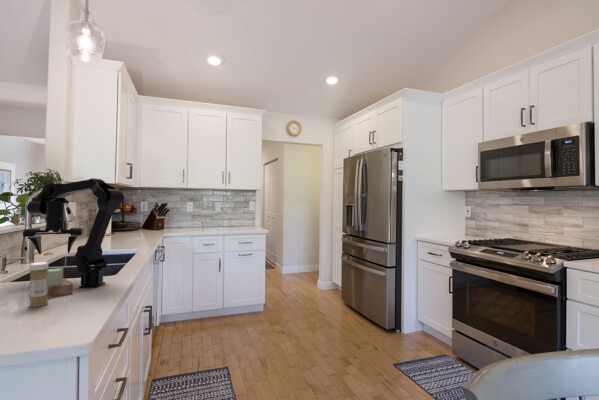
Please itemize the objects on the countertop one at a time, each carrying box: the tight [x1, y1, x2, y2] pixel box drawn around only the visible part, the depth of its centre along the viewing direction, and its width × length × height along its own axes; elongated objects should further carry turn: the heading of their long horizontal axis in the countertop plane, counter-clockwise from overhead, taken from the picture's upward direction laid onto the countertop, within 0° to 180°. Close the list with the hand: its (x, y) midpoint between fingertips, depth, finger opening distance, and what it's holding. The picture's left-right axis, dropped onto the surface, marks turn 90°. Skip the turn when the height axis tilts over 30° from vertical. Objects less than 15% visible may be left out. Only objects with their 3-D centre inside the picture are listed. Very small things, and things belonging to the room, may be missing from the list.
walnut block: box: [47, 278, 74, 300], centre depth 110 cm, size 10×10×4 cm
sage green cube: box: [47, 267, 64, 286], centre depth 109 cm, size 5×5×5 cm
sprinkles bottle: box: [29, 261, 49, 308], centre depth 98 cm, size 5×5×14 cm
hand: (54, 253), depth 123 cm, fingers open, 9 cm apart
